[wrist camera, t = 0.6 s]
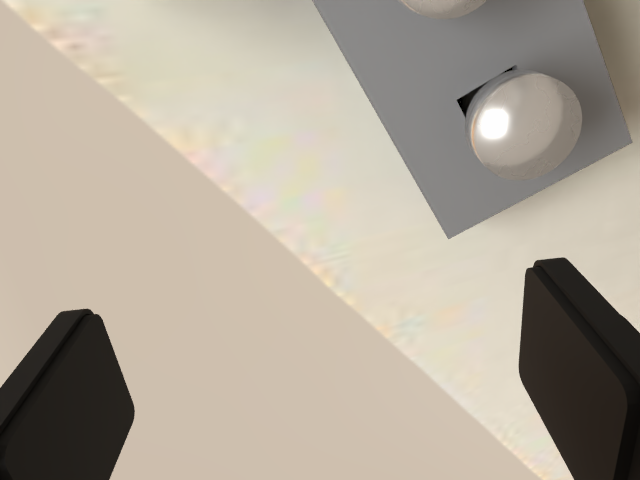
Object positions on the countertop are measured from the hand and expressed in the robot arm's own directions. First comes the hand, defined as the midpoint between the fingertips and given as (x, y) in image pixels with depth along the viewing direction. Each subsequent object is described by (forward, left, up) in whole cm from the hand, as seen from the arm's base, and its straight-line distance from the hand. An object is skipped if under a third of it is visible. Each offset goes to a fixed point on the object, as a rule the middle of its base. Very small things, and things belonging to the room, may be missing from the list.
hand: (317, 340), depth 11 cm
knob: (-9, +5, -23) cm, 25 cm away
